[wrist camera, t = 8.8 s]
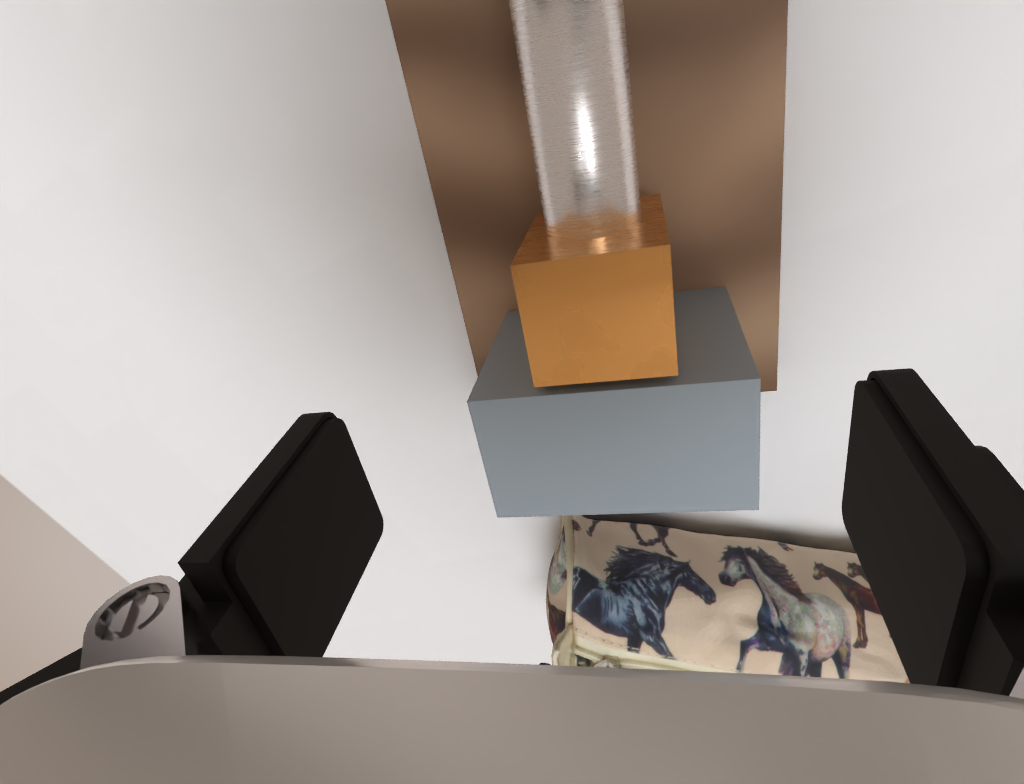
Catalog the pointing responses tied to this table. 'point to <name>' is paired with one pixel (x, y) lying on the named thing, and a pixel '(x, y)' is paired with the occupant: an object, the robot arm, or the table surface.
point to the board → (658, 140)
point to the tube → (588, 206)
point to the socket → (625, 426)
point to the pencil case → (712, 605)
